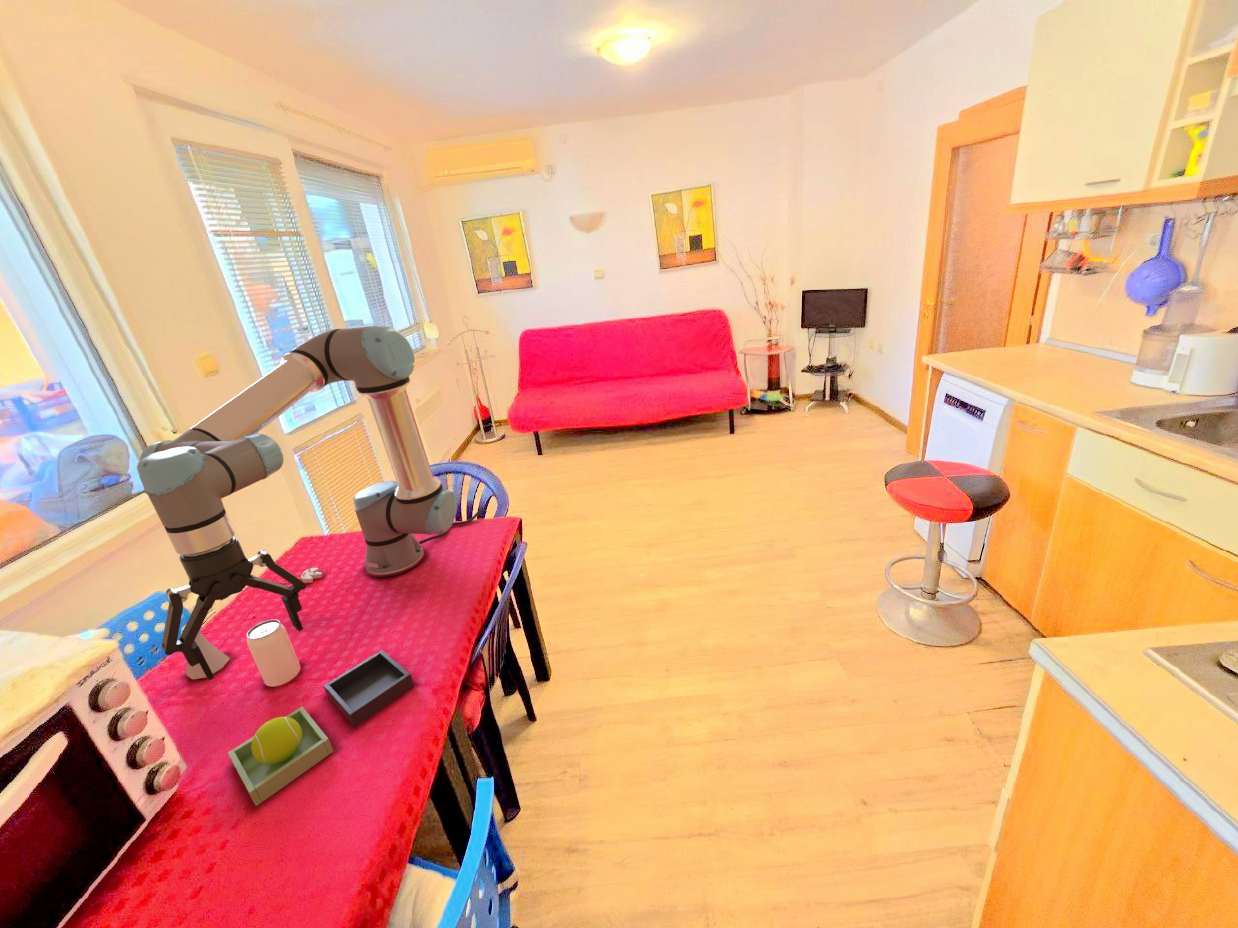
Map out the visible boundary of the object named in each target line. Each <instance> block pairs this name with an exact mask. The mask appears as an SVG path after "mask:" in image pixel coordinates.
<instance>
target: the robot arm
mask: <svg viewBox="0 0 1238 928" xmlns="http://www.w3.org/2000/svg"><path fill="white" fill-rule="evenodd" d="M414 363H415V353H414V350H413V348H412V345H411V344H410V341H408V339H407V338H406V336H405V335H404V334H403V333H402V332H400V331H399V330H397V329H396V328H394V327H390V326H380V325H379V326H378V325H369V326H368V325H367V326H358V327H347V328H334V329H329V330H328V329H327V330H325V331H323V332H321V333H318V334H316V335H314V336H312V337H310V338H308V339H307V340H305V341H304V342H302V343H301V344H298V345H297V346H296V347H294V348H293V349H291V350H290V351H288V352H287V353H286V354H284V355H283V356H282V357H281V360H280V364H279V365H278V366H277V367H275V368H274V369H272V370H271V371H269V372H268V373H267V374H265V375H264V376H263V377H261V378H259V379H258V380H257V381H255V382H254V383H252V384H251V385H249V386H248V387H247V388H245V389H244V390H243V391H241V392H240V393H239V394H237V395H236V396H234V397H233V398H231V399H230V400H229V401H227V402H226V403H224V404H223V405H221V406H220V407H218V408H217V409H216V410H214V411H213V412H211V413H210V414H209V415H207V416H206V417H204V418H203V419H202V420H200V421H199V422H198V423H196V424H195V425H193V426H192V427H190V428H189V429H188V430H187V431H185V432H183V433H182V434H180V435H179V436H177V437H176V438H174V439H173V440H169V439H168V440H162V441H158V442H153V443H151V444H149V445H148V446H146V447H145V448H144V449H143V451H142V452H141V454H140V457H139V461H138V462H137V466H136V470H137V474H138V477H139V478H140V482H141V485H142V487H143V491H144V493H145V494H146V495H147V496H148V499H149V501H150V502H151V504H152V506H153V508H154V510H155V513H156V514H157V516H158V518H159V520H160V522H161V524H162V526H163V527H164V529H165V532H166V534H167V537H168V538H169V540H170V542H171V545H172V548H174V551H175V553H176V554H178V555H179V557H178V559H179V561H180V563H181V565H182V567H183V569H184V572H185V573H186V575H187V577H188V581H189V582H188V585H184V586H182V587H178V588H175V587H170V588H168V589H166V591H165V594H166V597H167V601H168V606H167V612H166V619H165V624H164V629H163V636H162V641H161V649H162V651H163V652H164V654H165V655H166V656H171V655H173V654H175V653H182V655H183V656H184V659H185V660H186V663H187V662H188V663H189V665H190V666H192V667H193V666H195V665H197V664H200V666H201V668H202V670H203V672H204V674H205V675H206V679H207V680H208V681H211V680H213V679H215V676H214V673H212V671H211V670H210V668H209V666H208V664H207V662H206V660H205V658H204V656H203V654H202V652H201V650H200V648H199V646H198V645H197V643H196V642H195V641H194V640H195V638H196V636H197V634H198V632H199V630H200V628H201V629H202V626H203V623H204V622H205V619H206V618H207V615H208V613H209V611H210V610H211V609H212V608H213V606H214V604H215V601H223V600H225V599H228V598H229V597H230V596H232V595H236V594H239V593H242V592H243V591H244V589H245V588H246V587H250V588H253V589H260V590H263V591H266V592H270V593H273V594H276V595H280V596H281V600H282V602H283V605H284V607H285V610H286V613H287V614H288V617H289V620H290V622H291V624H292V626H293V627H294V629H295V630H297V632H302V631H303V630H304V627H303V625H302V622H301V619H300V617H299V614H298V613H299V612H301V611H302V610H303V606H302V604H301V602H300V598H299V596H300V594H299V593H300V592H301V591H303V590H305V589H306V588H307V583H304V582H303V581H302V579H301V578H300V577H298V578H297V576H296V575H295V574H293V573H291V572H290V571H288V570H287V569H286V568H284V567H282V566H281V565H279V564H278V563H276V562H275V561H274V559H273V558H272V555H271V554H270V553H268V552H267V551H266V550H264V549H260V550H259V551H258V552H257V554H256V555H255V556H252V557H251V558H247V557H246V555H245V553H244V550H243V548H242V546H241V544H240V541H239V539H238V537H237V536H235V534H236V531H235V529H234V527H233V524H232V522H231V520H230V518H229V516H228V514H227V511H226V508H225V506H224V504H223V500H222V499H223V498H226V497H228V496H230V495H232V494H234V493H236V492H239V491H241V490H243V489H245V488H247V487H249V486H252V485H254V484H256V483H258V482H259V481H262V480H265V479H268V477H270V476H272V475H273V474H275V473H277V472H278V471H280V469H282V467H283V465H284V454H283V452H282V448H281V447H280V445H279V444H278V442H277V441H275V439H274V438H272V437H270V436H269V435H267V434H264V433H261V431H263V430H264V429H266V428H267V427H268V426H269V425H270V424H272V423H273V422H274V421H276V420H277V419H278V418H279V417H280V416H281V415H283V414H284V413H285V412H286V411H287V410H289V409H291V407H293V406H294V405H296V403H298V402H299V401H300V400H301V399H303V398H304V397H305V396H306V395H308V394H309V393H310V392H312V393H315V392H319V391H320V390H322V389H323V388H325V387H326V386H328V385H330V384H333V383H338V382H342V381H343V382H345V381H346V382H347V381H350V382H351V381H353V384H354V386H355V389H356V392H357V394H359V395H361V396H363V397H365V398H366V399H367V402H368V404H369V408H370V410H371V413H372V416H373V418H374V421H375V424H376V427H377V430H378V433H379V435H380V438H381V441H382V444H383V447H384V450H385V453H386V455H387V459H388V461H389V465H390V467H391V470H392V472H393V476H394V478H395V481H394V480H388V481H381V482H379V483H375V484H372V485H369V486H367V487H365V488H363V489H361V490H360V491H358V492H357V493H356V494H355V495H354V497H353V506H354V512H355V514H356V517H357V520H358V523H359V526H360V529H361V532H362V534H363V538H364V542H365V545H366V547H365V557H364V558H365V559H364V560H365V561H364V567H365V570H366V573H367V574H368V575H369V576H371V577H375V578H389V577H393V576H394V577H395V576H397V575H400V574H403V573H406V572H408V571H410V570H412V569H414V568H415V567H417V566H418V565H419V564H420V563H421V562H422V561H423V560H424V557H425V551H424V549H423V546H422V544H425V543H427V542H429V541H432V540H436V539H439V538H441V537H443V536H444V535H445V534H446V532H448V531H449V530H450V529H451V527H453V526H460V525H461V526H462V525H467V524H469V523H471V522H472V521H474V520H475V519H476V518H477V517H478V515H480V514H481V513H484V514H486V513H487V512H488V511H487V510H485V509H480V510H478V511H477V512H476V513H475V514H474V515H473V516H472V517H471V518H469V519H467V520H464V521H457V522H455V519H456V516H457V513H458V499H457V497H456V494H455V493H454V492H453V491H451V490H449V489H444V486H443V483H442V481H441V479H440V477H437V476H435V475H433V472H432V469H431V465H430V462H429V459H428V457H427V456H428V455H427V453H426V450H425V447H424V443H423V440H422V437H421V434H420V430H419V427H418V424H417V420H416V417H415V415H414V411H413V408H412V405H411V402H410V399H409V396H408V393H407V392H408V391H407V387H408V385H409V384H410V382H411V379H410V376H411V375H412V373H413V371H414V369H415V365H414ZM415 535H427V536H430V537H427V538H424V539H422V540H420V541H419V540H418V539H417V538H416V536H415ZM254 566H259V568H264V567H267V568H268V569H269V570H270V571H272V572H273V573H274V574H276V575H278V576H279V577H281V578H282V579H283V580H285V581H286V582H287V583H290V584H291V585H290V586H287V585H285V584H281V583H278V582H274V581H271V580H268V579H265V578H262V577H258V576H256V575H253V574H252V572H253V570H254ZM191 593H193V594H195V595H198V596H197V598H196V600H195V605H194V607H193V610H192V611H191V613H190V616H189V618H188V620H187V622H186V624H185V626H184V628H183V630H182V631H181V633H182V634H181V633H180V627H181V623H182V618H183V617H182V616H183V612H184V602H186V601H187V600H188V597H189V595H190V594H191ZM179 633H180V636H179Z"/></svg>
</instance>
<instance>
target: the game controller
mask: <svg viewBox="0 0 1238 928" xmlns="http://www.w3.org/2000/svg"><path fill="white" fill-rule="evenodd" d="M300 576H301V577H300V580H301V581H303V582H304V583H305V584H307V583H308V584H310V583H313V582H314V579H321V578H323V572H322V571H319V567H310V568H307V569H305V570H304V571H303V572H302V573H301V575H300ZM296 577H297V576H296ZM297 578H299V577H297ZM277 583H278V584H280V581H278V582H277ZM282 583H283V584H286V581H284V582H283V581H282Z"/></svg>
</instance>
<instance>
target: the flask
mask: <svg viewBox="0 0 1238 928" xmlns="http://www.w3.org/2000/svg"><path fill="white" fill-rule="evenodd" d="M201 630H202V627H201V628H200V630H199V632H198V634H197V636H196V638H195V640H194V641H195V642H196V643H197V645H198V646H199V648H200V650H201V652H202V654H203V656H204V658H205V660H206V662H207V664H208V666H209V668H210V670H211V671H212V673H213V674H215V673H216V672H219V671H220V670H222V669H223V668H224V667H225V665H227V663H228V662H229V661H230V660H231V657H229V656H228V655H227V654H226V653H224V652H223V651H222V650H220V649H219V648H217V647H216V646H215V645H213V643H211V642H210V641H209V640H208V639H207V638H206V637H205V635H204V634H203V632H202V631H201ZM181 634H182V632H180V635H181ZM185 670H186V673H185V676H186V677H188V678H189V679H191V680H199V679H205V678H206V679H207V677H206V675H205V674H204V672H203V670H202V668H201V666H200V664H197V665H195V666H193V667H192V666H190V665H189V663H188V662H187V661H186V669H185Z"/></svg>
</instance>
